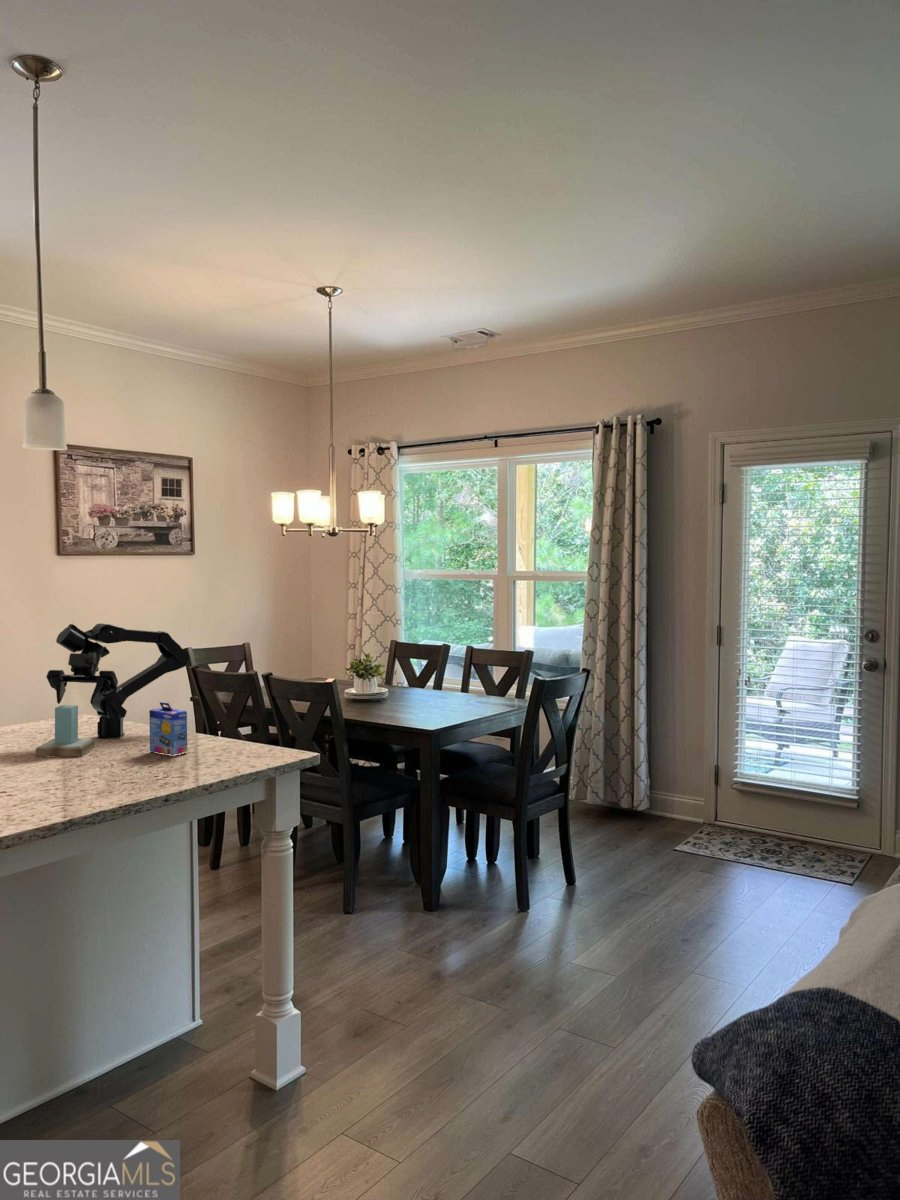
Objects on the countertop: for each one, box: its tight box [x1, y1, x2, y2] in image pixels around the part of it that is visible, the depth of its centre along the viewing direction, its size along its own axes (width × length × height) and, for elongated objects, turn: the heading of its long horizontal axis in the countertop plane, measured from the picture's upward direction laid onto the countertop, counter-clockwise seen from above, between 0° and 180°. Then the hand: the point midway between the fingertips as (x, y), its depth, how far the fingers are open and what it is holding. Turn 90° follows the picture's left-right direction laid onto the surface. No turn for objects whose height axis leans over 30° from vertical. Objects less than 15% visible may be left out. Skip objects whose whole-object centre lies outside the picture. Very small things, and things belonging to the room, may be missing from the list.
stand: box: [35, 738, 96, 758], centre depth 241 cm, size 12×12×3 cm
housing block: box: [54, 704, 79, 744], centre depth 241 cm, size 4×4×10 cm
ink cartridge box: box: [149, 702, 188, 755], centre depth 242 cm, size 10×6×14 cm, turn 59°
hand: (74, 703), depth 246 cm, fingers open, 9 cm apart
